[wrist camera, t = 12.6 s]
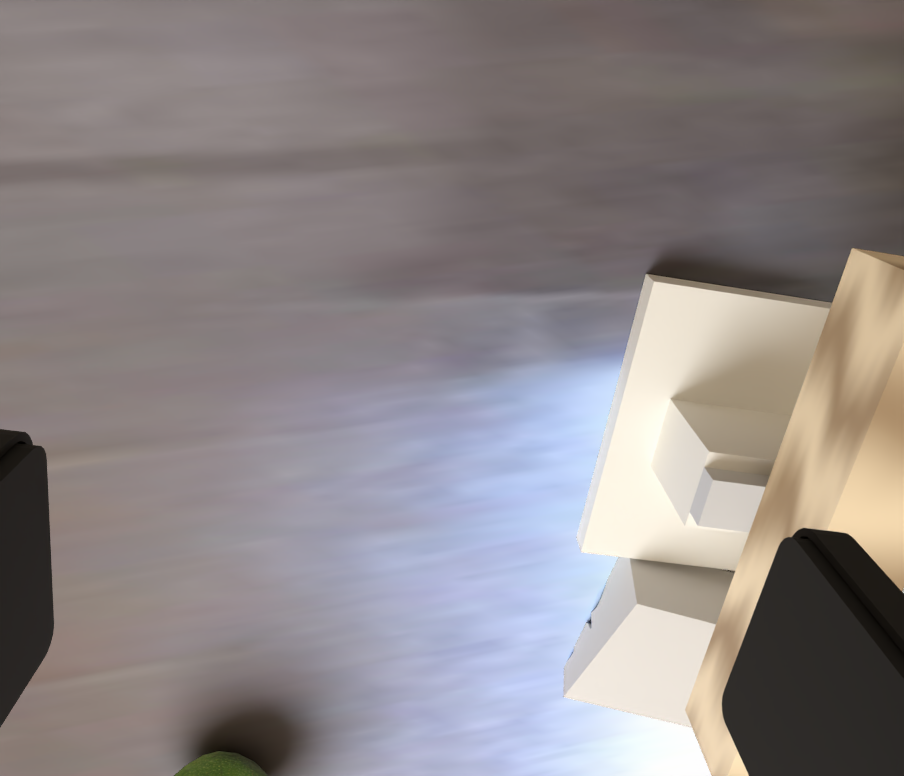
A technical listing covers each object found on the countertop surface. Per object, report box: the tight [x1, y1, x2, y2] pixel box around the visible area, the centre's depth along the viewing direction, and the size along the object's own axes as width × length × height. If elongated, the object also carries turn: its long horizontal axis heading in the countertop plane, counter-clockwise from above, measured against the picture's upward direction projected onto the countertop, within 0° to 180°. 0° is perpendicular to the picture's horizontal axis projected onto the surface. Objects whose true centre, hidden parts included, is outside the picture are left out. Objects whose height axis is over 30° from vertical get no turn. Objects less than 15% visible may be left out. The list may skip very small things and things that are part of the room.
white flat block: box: [563, 557, 734, 727], centre depth 50 cm, size 34×5×10 cm
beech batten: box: [685, 248, 904, 776], centre depth 33 cm, size 24×4×5 cm, turn 171°
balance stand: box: [576, 274, 832, 571], centre depth 39 cm, size 16×14×9 cm
